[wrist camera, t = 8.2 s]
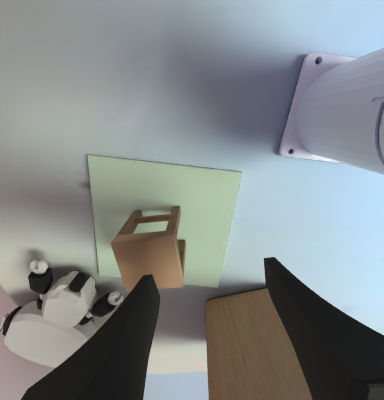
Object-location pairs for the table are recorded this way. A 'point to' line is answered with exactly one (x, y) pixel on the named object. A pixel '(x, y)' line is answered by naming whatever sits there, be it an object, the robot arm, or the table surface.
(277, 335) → the wooden block
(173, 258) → the brown handled box
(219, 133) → the table surface
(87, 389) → the robot arm
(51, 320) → the robot toy
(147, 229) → the sage mat
